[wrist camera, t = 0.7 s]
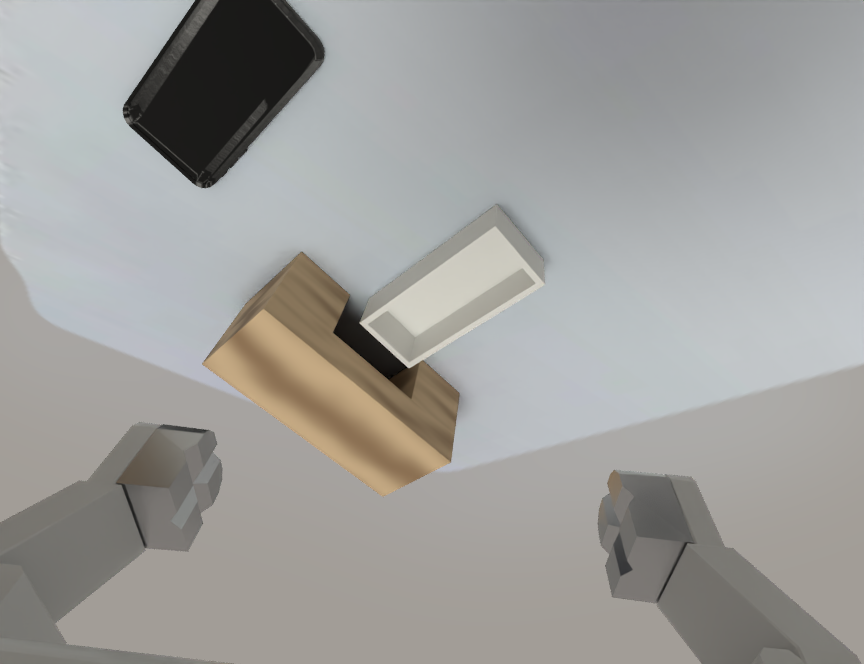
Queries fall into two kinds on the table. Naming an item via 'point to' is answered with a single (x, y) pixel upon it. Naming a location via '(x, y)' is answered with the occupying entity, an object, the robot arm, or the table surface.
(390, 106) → the table surface
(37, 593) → the robot arm
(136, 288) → the table surface
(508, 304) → the white drawer
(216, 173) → the phone
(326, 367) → the overhang dock
